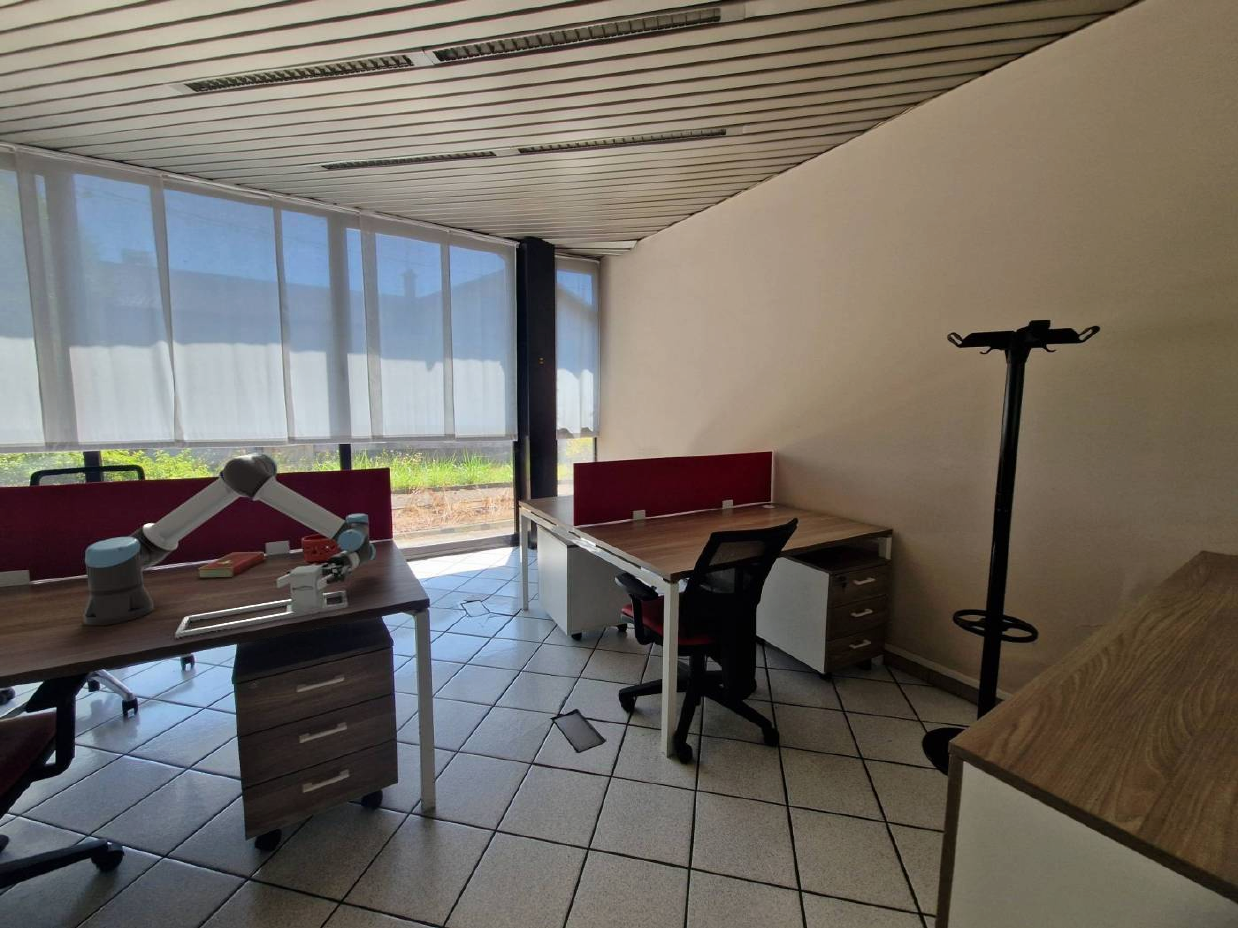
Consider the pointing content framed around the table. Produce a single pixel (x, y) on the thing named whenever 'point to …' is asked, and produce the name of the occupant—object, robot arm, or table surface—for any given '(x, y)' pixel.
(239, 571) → the hardcover book
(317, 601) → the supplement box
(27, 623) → the table surface
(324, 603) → the pad
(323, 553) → the plant pot
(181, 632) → the rail track
